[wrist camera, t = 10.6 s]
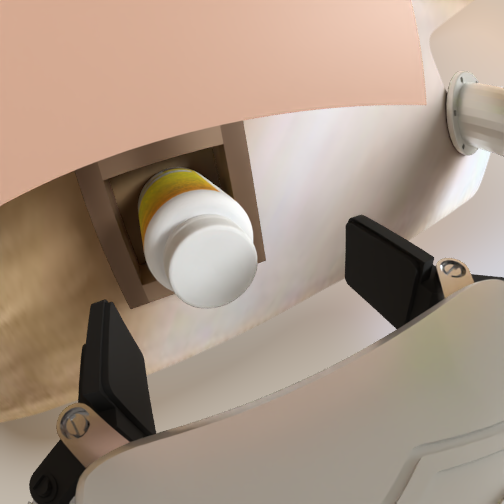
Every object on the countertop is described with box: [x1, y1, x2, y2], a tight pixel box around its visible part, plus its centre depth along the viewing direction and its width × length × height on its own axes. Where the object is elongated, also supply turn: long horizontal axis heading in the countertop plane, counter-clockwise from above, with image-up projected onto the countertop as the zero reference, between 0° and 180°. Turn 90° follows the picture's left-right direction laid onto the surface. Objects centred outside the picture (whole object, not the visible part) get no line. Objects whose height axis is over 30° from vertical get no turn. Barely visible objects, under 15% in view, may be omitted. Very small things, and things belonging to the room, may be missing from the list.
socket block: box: [75, 121, 266, 309], centre depth 18 cm, size 11×14×3 cm
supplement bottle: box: [138, 167, 257, 309], centre depth 16 cm, size 6×6×10 cm
